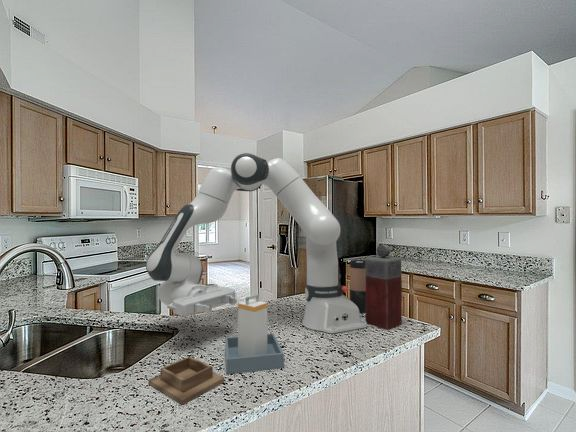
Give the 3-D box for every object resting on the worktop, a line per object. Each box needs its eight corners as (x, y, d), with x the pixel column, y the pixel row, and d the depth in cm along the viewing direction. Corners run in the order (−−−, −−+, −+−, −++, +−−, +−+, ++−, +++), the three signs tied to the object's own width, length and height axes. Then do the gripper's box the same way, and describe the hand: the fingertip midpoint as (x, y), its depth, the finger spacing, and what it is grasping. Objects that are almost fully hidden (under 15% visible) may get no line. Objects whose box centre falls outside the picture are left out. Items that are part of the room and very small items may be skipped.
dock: (148, 384, 70) (148, 368, 70) (190, 365, 78) (190, 351, 79) (182, 405, 62) (182, 387, 62) (224, 381, 71) (224, 366, 71)
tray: (273, 345, 91) (273, 333, 91) (283, 367, 77) (283, 353, 77) (225, 349, 88) (225, 337, 88) (226, 374, 74) (226, 359, 74)
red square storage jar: (405, 323, 110) (405, 244, 110) (387, 330, 103) (387, 246, 103) (383, 316, 117) (383, 243, 117) (365, 323, 110) (365, 244, 110)
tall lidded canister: (237, 355, 82) (237, 295, 82) (251, 349, 86) (251, 292, 87) (254, 361, 79) (254, 299, 79) (267, 354, 83) (267, 295, 83)
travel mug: (372, 310, 125) (372, 261, 126) (363, 314, 120) (363, 263, 120) (355, 306, 131) (355, 259, 131) (346, 310, 125) (346, 261, 125)
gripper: (163, 295, 90) (192, 302, 82) (218, 282, 107) (247, 287, 98) (164, 316, 90) (193, 326, 82) (218, 301, 107) (247, 307, 98)
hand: (223, 305), depth 90 cm, fingers open, 8 cm apart
